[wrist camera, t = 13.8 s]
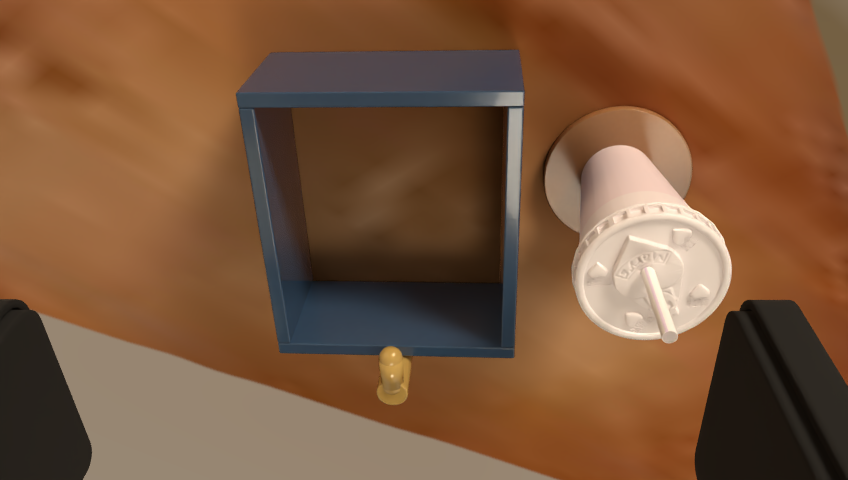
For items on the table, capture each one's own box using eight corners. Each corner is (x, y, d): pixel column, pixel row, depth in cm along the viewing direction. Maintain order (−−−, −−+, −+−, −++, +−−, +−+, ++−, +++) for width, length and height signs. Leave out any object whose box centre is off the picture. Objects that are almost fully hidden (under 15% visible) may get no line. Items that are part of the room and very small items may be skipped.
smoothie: (651, 98, 36) (733, 244, 24) (698, 199, 39) (793, 377, 27) (533, 155, 38) (555, 318, 26) (586, 248, 41) (627, 434, 29)
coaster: (547, 106, 37) (547, 109, 37) (701, 105, 37) (703, 108, 36) (540, 235, 41) (540, 240, 41) (679, 236, 41) (681, 241, 40)
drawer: (270, 52, 37) (219, 111, 30) (519, 49, 36) (527, 109, 29) (306, 311, 45) (273, 405, 38) (510, 314, 44) (515, 411, 37)
